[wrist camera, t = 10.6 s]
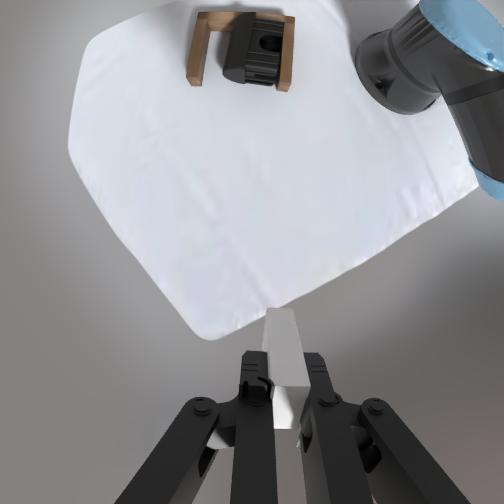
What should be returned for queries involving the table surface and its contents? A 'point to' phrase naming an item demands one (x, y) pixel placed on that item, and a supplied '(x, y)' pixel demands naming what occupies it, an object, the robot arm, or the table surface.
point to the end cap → (253, 50)
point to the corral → (225, 23)
